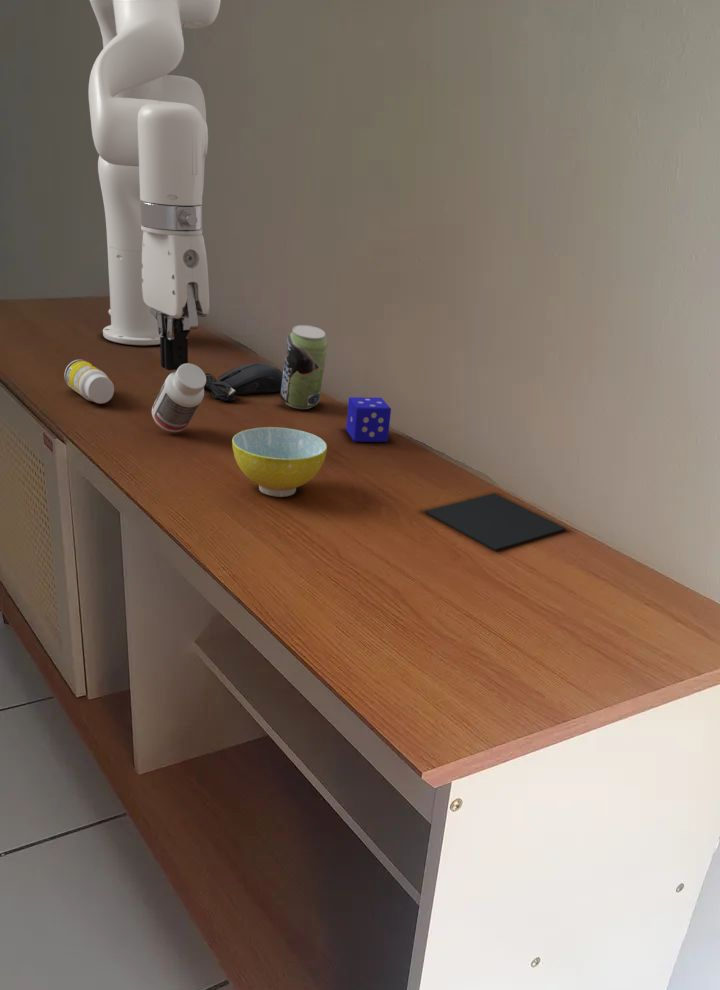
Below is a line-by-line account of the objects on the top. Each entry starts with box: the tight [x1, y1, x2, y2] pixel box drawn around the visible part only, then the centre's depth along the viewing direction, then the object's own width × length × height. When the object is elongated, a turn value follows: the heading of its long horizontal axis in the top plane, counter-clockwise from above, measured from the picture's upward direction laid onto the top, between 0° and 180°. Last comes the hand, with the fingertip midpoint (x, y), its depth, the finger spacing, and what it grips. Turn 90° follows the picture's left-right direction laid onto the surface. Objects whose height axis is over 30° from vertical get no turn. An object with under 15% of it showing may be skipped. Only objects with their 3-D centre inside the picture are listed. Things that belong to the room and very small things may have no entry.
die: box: [345, 396, 392, 443], centre depth 135 cm, size 5×5×5 cm
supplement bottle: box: [64, 359, 115, 405], centre depth 139 cm, size 5×5×8 cm
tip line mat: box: [424, 493, 566, 552], centre depth 113 cm, size 12×12×1 cm
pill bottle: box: [151, 362, 207, 433], centre depth 127 cm, size 5×5×10 cm
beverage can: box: [279, 324, 329, 410], centre depth 142 cm, size 6×7×12 cm
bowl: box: [231, 426, 328, 498], centre depth 114 cm, size 11×12×6 cm
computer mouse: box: [204, 362, 283, 402], centre depth 149 cm, size 10×15×4 cm
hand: (174, 367), depth 125 cm, fingers closed
